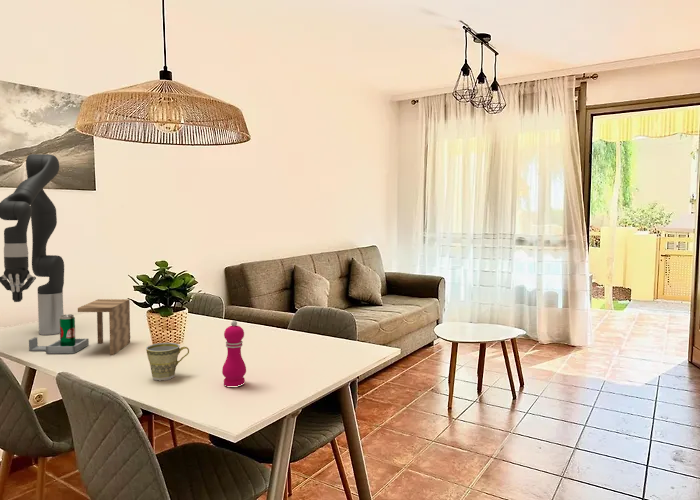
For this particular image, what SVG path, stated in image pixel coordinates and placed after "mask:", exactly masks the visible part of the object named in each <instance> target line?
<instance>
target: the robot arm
mask: <svg viewBox="0 0 700 500" xmlns="http://www.w3.org/2000/svg"><path fill="white" fill-rule="evenodd" d="M25 170H26V176H27V178H26V179H25V180H23V181H21V182H20V183H19V185H18V186H16V188H15V189H14V191H13V193H11V194H9V195H7V196H6V197H5V198H4V199H2V200H1V201H0V219H1V220H3V221H17V222H16V224H15V225H14V226H9V227H6V228H4V230H3V245H4V246H3V266H4V271H3V274H2V275H1V276H0V284H1V285H2V287H4V288H5V290H7V291H9V292H10V291H11V294H12V295H11V296H12V297H11V298H12V301H13V302H14V303H20V302H22V300H23V292H24V291H25V290H28V289H29V288H30V287H31V286H32V284H33V283H34V282H35V280H36V279H37V277H39V278H42V277H43V278H48V281H47V282H46V283H45V284H42V285H41V284H40V285H39V286H38V287H37V312H38V313H37V317H38V319H37V320H38V334H39V335H42V336H43V335H44V336H50V335H58V334H60V317H61V315H65V314H64V290H63V289H64V284H65V262H64V261H65V260H64V259H63V258H62V257H63V256H60V255H58V254H57V255H53V254H52V255H51V254H50V255H49V254H47V244H48V242H49V239H50V237H51V236H52V234H53V233H54V231H55V229H56V227H57V223H58V219H57V217H58V216H57V208H56V206H55V204H54V203H53V201H52V200H51V199H50V197H49V196H48V194H47V193H46V192H45V190H44V188H45V187H46V186H47V185H48V184H49V183H50V182H51V181H52V180H53V179H54V178H55V177H56V176H57V175H58V174H59V172H60V163H59V159H58V158H57V156H56V155H53V154H45V153H44V154H42V153H40V154H39V153H38V154H37V153H31V154H28V155H27V157H26V159H25ZM30 222H31V224H30ZM29 224H30V225H31V233H32V234H31V235H32V237H31V238H32V243H31V244H32V245H31V246H32V248H31V249H32V250H31V270H32V273H33V274H34V275H35V276H34V275H32V274H31V272H30V270H29V266H30V265H29V247H28V234H27V233H28V229H29ZM25 281H26V282H25Z"/></svg>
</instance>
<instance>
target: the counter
mask: <svg viewBox="0 0 700 500" xmlns="http://www.w3.org/2000/svg"><path fill="white" fill-rule="evenodd" d="M130 311H131V308H130V299H119V298H118V299H117V298H115V299H113V298H111V299H109V298H107V299H106V298H104V299H103V298H102V299H100V298H99V299H95V300H93V301H91V302H89V303H86V304H84V305H81V306H79V307H77V313H96V323H97V325H96V330H97V334H96V335H97V344H99V345H100V344H103V343H104V326H103V323H104V322H103V321H104V320H103V319H104V316H103V313H108V314H109V315H108V316H109V318H108V319H109V324H108V325H109V355H110V356H115V354H117V353H119V351H121V350H123V348H125V347H127V345H129V344H130V343H131V315H130V314H131V312H130Z"/></svg>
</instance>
